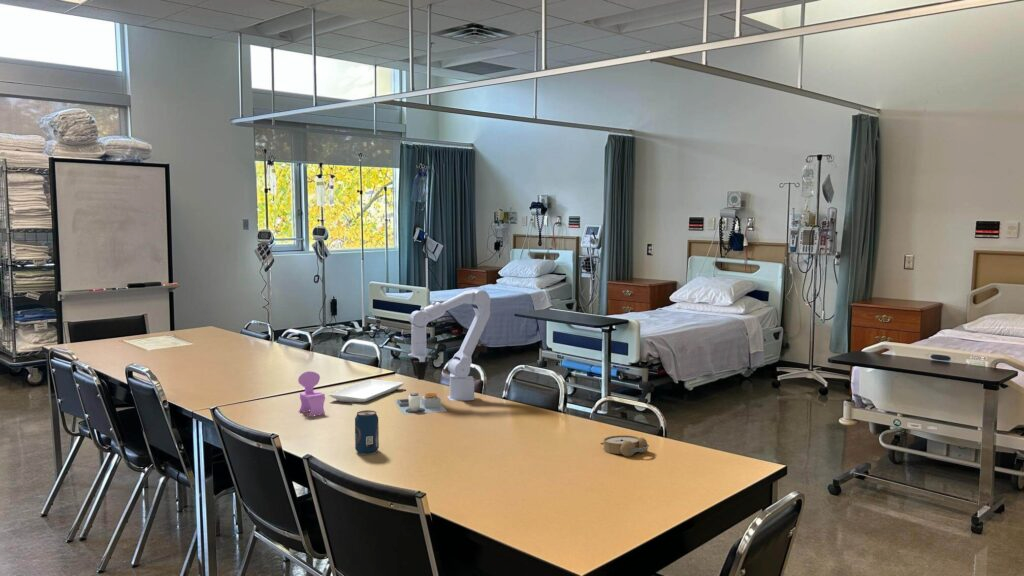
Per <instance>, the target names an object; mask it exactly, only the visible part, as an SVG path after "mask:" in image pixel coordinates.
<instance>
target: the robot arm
mask: <svg viewBox="0 0 1024 576" xmlns="http://www.w3.org/2000/svg"><path fill="white" fill-rule="evenodd" d="M491 301H492V299H491V297H490V295H489V293H488V292H487V291H486V290H483V289H477V288H470V289H469V290H465V291H463V292H461V293H459V294H457V295H455V296H453V297H451V298H449V299H447V300H445V301H444V302H443V301H442V302H439V301H433V302H430V303H431V304H429V305H427V306H424V307H419V308H420V310H414V311H412V312H411V313H410V315H409V318H408V320H409V323H410V324H411V330H410V331H411V335H410V336H411V337H410V339H411V345H410V346H411V347H410V348H411V353H408V354H407V356H408V357H409V360H410V362H411V365H412V370H413V374H414V376H415V377H416V376H417V380H421V381H423V380H424V379H425V376H426V371H427V368H428V365H429V362H430V361H429V360H427V361H426V357H427V356H428V353H427V325H428V324H429V323H430V322H432V321H434V320H437V319H438V318H441V317H442V316H444V315H445V313H446V311H448V310H451V309H453V308H456V307H459V306H460V305H464V304H468V305H470V306H471V307H472V309H473V311H474V314H475V315H474V317H473V319H472V322H471V323H470V326H469V328H468V330H467V333H466V335H465V337H464V339H463V341H462V343H461V345H460V348H459V350H458V351H457V352H456V353H454V355H453V357H452V358H451V359H450V360H448V363H447V371H448V372H449V373H450V374H449V395H446V396H447V398H448V399H449V400H450V401H462V402H463V401H474V400H475V379H474V376H471V375H469V374H470V373H471V372H470V371H471V365H472V362H473V359H472V355H473V353H474V351H475V349H476V347H477V345H478V344H479V343H478V342H479V340H480V338H481V336H482V334H483V332H484V329H485V327H486V326H487V323H488V321H489V319H490V317H491Z"/></svg>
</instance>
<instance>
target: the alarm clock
mask: <svg viewBox="0 0 1024 576" xmlns="http://www.w3.org/2000/svg"><path fill="white" fill-rule="evenodd" d="M602 441H603V442H600V445H603V451H604V452H606V453H609V454H615V455H617V454H618V455H623V457H627V458H629V457H632V456H634V454H636V453H638V452H639V454H644V453H646V452H647V450H649V446H650V445H649V444H648V441H647V440H646V438H644V437H638V436H634V435H626V434H624V435H621V434H620V435H611V436H607V437H604V438H603V440H602Z"/></svg>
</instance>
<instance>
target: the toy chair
mask: <svg viewBox="0 0 1024 576" xmlns="http://www.w3.org/2000/svg"><path fill="white" fill-rule="evenodd" d="M320 380H321V376H320V374H319V373H317V372H314V371H312V370H311V371H309V370H308V371H305V372H303V373H301V374H300V375H299V377H298V379H297V381H298V384H299V385H300V386H302V387H303V388H304V392H301V393H300V394H299V399H300V404H301V405H300V408H299V410H298V413H299V412H301V413H304V412H303V411H307V412H309V414H308V417H309V416H312V417H315V416H314V415H318V416H320V415H319V414H323V415H326V412H325V410H324V405H325V400H326V396H325V393H323V392H320V391H318V390H314V387H315V386H317V385H318V384H319V381H320ZM309 410H311V411H309Z"/></svg>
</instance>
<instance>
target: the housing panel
mask: <svg viewBox="0 0 1024 576" xmlns="http://www.w3.org/2000/svg"><path fill="white" fill-rule="evenodd" d="M441 401H442V400H441V398H440V397H439V395H437V396H436V399H426V397H425V395H423V396H421V398H420V408H423V409H425V411H424V412H421V413H420V414H431V413H441V412H442V413H445V412H448V410H447V409H446V408H445V407H444V406H443V404H441ZM394 402H395V404H396V405H397V408H399V411H400V412H401V413H402V415H416V414H419V413H408V412H406V409H408V408H409V398H401V399H400V398H399V399H397V400H394Z"/></svg>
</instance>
